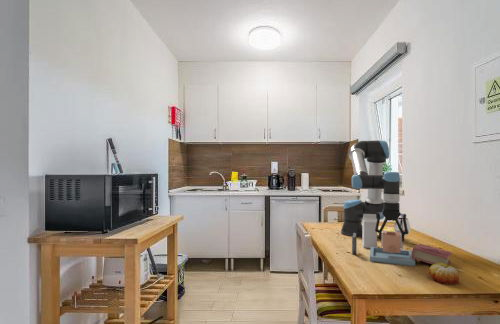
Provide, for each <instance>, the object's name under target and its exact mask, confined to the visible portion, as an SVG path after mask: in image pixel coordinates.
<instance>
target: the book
mask: <svg viewBox="0 0 500 324" xmlns="http://www.w3.org/2000/svg"><path fill="white" fill-rule="evenodd" d="M411 251H412V254H411V255H412V258H413V259H415V261H416V260H417V261H420V262H424V263H427V264H430V265H433V264H436V263H443V264H446V265H448V266H450V264H451V260H450V257H451V255H452V253H453V252H452V251H450V250H449V251H448V250H445V249H441V248H437V247H434V246H430V245H426V244H423V243H418V244H416V246H413V248H412V250H411Z"/></svg>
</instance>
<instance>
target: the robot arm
mask: <svg viewBox="0 0 500 324" xmlns="http://www.w3.org/2000/svg"><path fill="white" fill-rule="evenodd" d="M348 157H349V160H351V161H350V162H351V165H352V170H353V175H352V176H351V188H352V189H358V190H363V189H364V190H365V189H367V197H366V198H365V200H364V201H362V199H349V200H345V201H344V203H343V223H342V226H341V230H340V231H341V232H340V234H341V235H344V236H350V237H352V236H353V233H356V236H357V237H362V219H363V214H376V218H377V223H376V229H375V231H376V232H377V234H378V240H380V241H381V242H380V245H381V248H383V231H384V229H385V227H386V225H387V222H388V221H393V222H396V223H397V225H398V227H399V230H400V232H401V234H400V236H401V248H402V241H403V242H405V237H404V235H405V234H407V235H409V234H408V229H407V224H406V218H407V214H406V213H401V211H400V204H401V203H400V199H401V198H400V197H401V196H400V183H401V182H400V181H401V180H400V179H401V178H400V173H399V172H397V171H384V164H385V163H386V162H387V160H388V159H389V158H390V149H389V145H388V142H387V141H386V140H359V141H358V142H355V143H354V144H353V145H352V146H351V147H350V148H349V150H348ZM365 159H366V160H365ZM366 162H367V163H368V168H367V165H366ZM382 191H383V198H382ZM398 218H403V223H404V228H405V232H403V230H402V228H401V226H400V223H399V221H398ZM383 219H384V220H383ZM380 220H383V222H382V223H381V226H380ZM379 226H380V229H379Z"/></svg>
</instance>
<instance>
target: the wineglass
mask: <svg viewBox="0 0 500 324" xmlns="http://www.w3.org/2000/svg"><path fill="white" fill-rule="evenodd" d="M398 221H399V223H400V226H401V228H402V230H403V232H405V228H404V223H403V218H402V217H398ZM394 222H395V223H394V226H393V227H394V228H393V229H394V232H400V230H399V227H398V225H397V223H396V221H394ZM406 224H407V229H408V234H405V235H404V238H405V237H406V236H407V235H409V234H410V233H411V230H412V229H411V224H410V221H409V218H407V217H406ZM400 234H401V232H400ZM401 250H404V241H402V248H401Z"/></svg>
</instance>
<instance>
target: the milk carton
mask: <svg viewBox="0 0 500 324" xmlns="http://www.w3.org/2000/svg"><path fill="white" fill-rule="evenodd" d="M361 223H362V236H361V238H362V241H361V244H362V247H363V248H366V249H371V247H378V232H376V231H375V229H376V223H377V218H376V214H363V219H361Z"/></svg>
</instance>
